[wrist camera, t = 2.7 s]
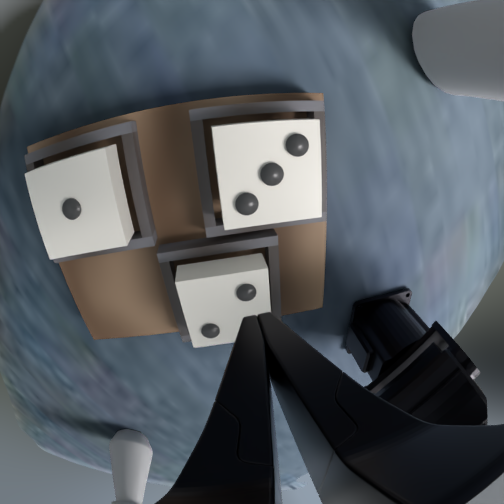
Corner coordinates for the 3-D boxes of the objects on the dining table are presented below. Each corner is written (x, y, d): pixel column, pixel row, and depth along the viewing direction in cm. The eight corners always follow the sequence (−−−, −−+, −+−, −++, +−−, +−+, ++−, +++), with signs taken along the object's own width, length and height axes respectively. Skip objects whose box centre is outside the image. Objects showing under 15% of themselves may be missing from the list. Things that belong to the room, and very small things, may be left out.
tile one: (115, 143, 13) (104, 148, 11) (134, 232, 15) (126, 246, 13) (40, 166, 12) (23, 174, 11) (62, 245, 15) (49, 260, 13)
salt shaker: (102, 429, 29) (94, 513, 17) (131, 422, 28) (126, 516, 17) (132, 446, 32) (130, 524, 20) (161, 440, 31) (163, 525, 20)
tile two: (261, 253, 17) (268, 269, 15) (266, 318, 19) (272, 337, 18) (177, 265, 17) (174, 283, 15) (193, 329, 19) (193, 349, 17)
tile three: (306, 118, 14) (320, 119, 12) (310, 206, 16) (322, 218, 14) (211, 126, 13) (211, 127, 12) (222, 217, 16) (224, 231, 14)
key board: (310, 94, 16) (331, 92, 13) (313, 292, 23) (328, 317, 20) (41, 142, 14) (16, 149, 11) (99, 323, 21) (90, 350, 18)
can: (415, 94, 17) (551, 114, 6) (394, 6, 13) (518, -23, 3) (470, 95, 17) (580, 119, 6) (454, 20, 13) (561, 16, 3)
